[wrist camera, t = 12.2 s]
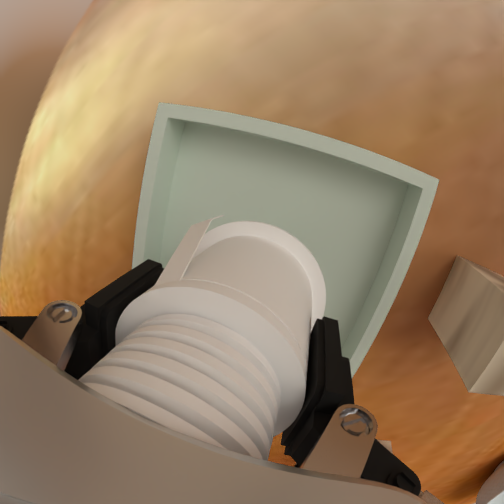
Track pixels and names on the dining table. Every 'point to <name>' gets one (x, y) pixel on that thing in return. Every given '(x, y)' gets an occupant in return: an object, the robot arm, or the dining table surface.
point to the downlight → (220, 338)
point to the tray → (288, 204)
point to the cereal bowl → (493, 488)
